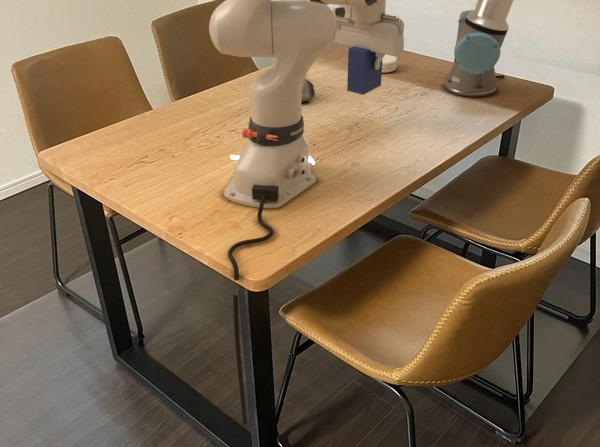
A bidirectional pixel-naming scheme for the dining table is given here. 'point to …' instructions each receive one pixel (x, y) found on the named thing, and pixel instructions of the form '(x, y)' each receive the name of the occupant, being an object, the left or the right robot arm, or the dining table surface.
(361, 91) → the brick
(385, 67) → the coaster
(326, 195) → the dining table surface
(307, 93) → the rock
